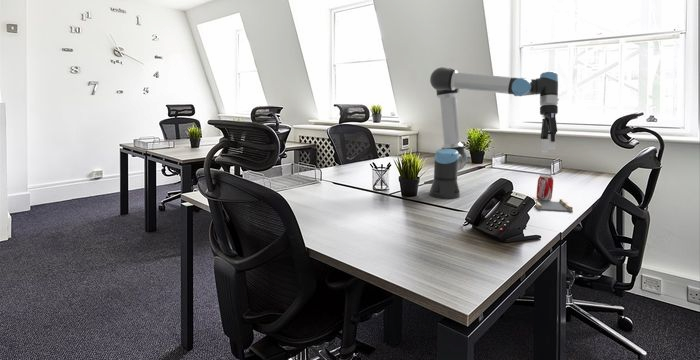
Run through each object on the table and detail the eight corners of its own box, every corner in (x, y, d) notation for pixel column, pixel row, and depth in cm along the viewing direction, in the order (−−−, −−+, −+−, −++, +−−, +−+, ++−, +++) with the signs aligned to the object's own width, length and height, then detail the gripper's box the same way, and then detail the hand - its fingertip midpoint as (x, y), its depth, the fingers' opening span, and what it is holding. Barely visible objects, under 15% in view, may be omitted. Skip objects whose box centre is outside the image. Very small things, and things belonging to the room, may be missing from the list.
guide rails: (531, 200, 204) (531, 197, 204) (562, 202, 201) (562, 198, 201) (538, 208, 189) (539, 205, 189) (572, 210, 186) (572, 207, 186)
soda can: (553, 201, 204) (555, 177, 202) (537, 201, 206) (540, 177, 203) (549, 198, 211) (551, 175, 209) (534, 197, 213) (536, 174, 210)
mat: (530, 201, 204) (530, 200, 204) (562, 203, 202) (562, 202, 201) (538, 210, 189) (538, 208, 189) (572, 212, 186) (572, 210, 186)
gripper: (565, 99, 182) (564, 147, 181) (550, 111, 207) (550, 154, 206) (546, 99, 184) (546, 147, 183) (534, 111, 208) (533, 154, 207)
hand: (548, 151), depth 194 cm, fingers open, 13 cm apart
